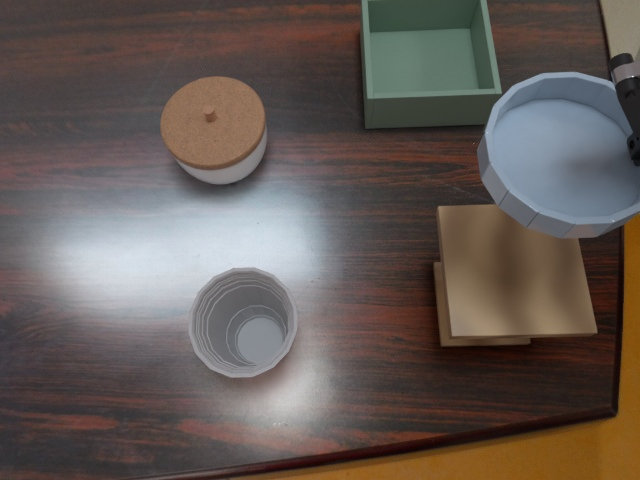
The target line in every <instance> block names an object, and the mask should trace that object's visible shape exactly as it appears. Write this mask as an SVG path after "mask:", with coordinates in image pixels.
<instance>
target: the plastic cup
mask: <svg viewBox="0 0 640 480" xmlns="http://www.w3.org/2000/svg"><path fill="white" fill-rule="evenodd" d="M297 332H298V307H297V304H296V302H295V300H294V298H293V296H292V293H291V291H290V288H289V287H287V286H286V285H285V284H284V283H283V282H282V281H281V280H280V279H279V278H278V277H277V276H276V275H275V274H274V273H270V272H268V271H265V270H263V269H260V268H257V267H253V266H252V267H233V268H230V269H227V270H226V271H223V272H221V273H219V274H217V275H214V276H212V278H211V279H210V280H209V281H207V282H206V284H204V286H203V287H202V288H200V289H199V290H198V292H197V293H196V296H195V298H194V300H193V302H192V305H191V307H190V309H189V311H188V331H187V334H188V337H189V341H190V342H191V345H192V348H193V350H194V353H195V355H196V356H197V357H198V358H199V359H200V360H201V361H202V362H203V363H204V364H205V366H207V367H208V369H209V370H211V371H213V372H216V373H219V374H222V375H223V376H225V377H228V378H253V377H256V376H258V375H260V374H263V373H265V372H267V371H269V370H271V369H273V368H275V367H276V366H277V365H278V363H279V362H280V361H281V360H282V359H283V358H284V357H285V356H286V355H287V354H288V353H289V352H290V350H291V348H292V345H293V342H294V340H295V337H296V334H297Z"/></svg>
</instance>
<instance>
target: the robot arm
mask: <svg viewBox="0 0 640 480" xmlns="http://www.w3.org/2000/svg"><path fill="white" fill-rule="evenodd" d="M607 65H608V68H609V72H610V76H611V80H612V83H613V84H614V87H615V91H616V94H617V98H618V101H619V103H620V105H621V108H622V110H623V112H624V114H625V116H626V118H627V120H628V123H629V125H630V127H631V129H632V131H633V133H632V135H630V136H629V137H628V138H627V142H626V143H627V147H628V150H629V154H630V158H631V160H633V162H634V165H635V166H640V59H637V60H634V57H633V55H632V53H630V52H622V53H618V54H616V55H614V56H612V57H611V58H610V60H609V61H608V63H607Z"/></svg>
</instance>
